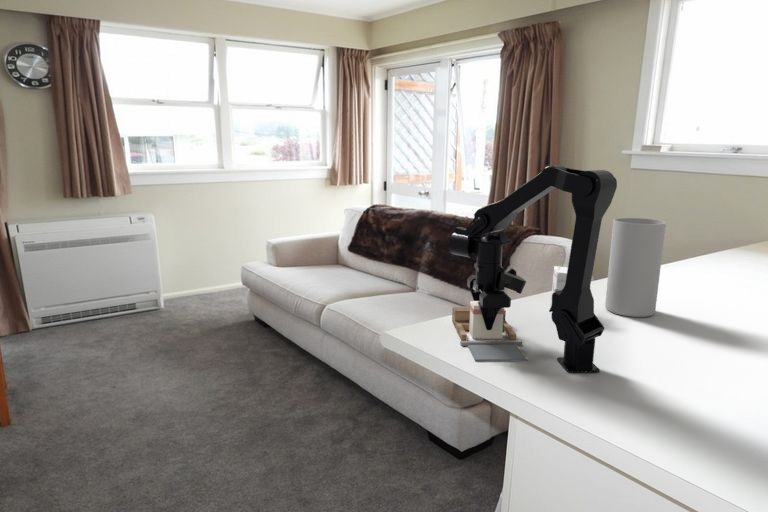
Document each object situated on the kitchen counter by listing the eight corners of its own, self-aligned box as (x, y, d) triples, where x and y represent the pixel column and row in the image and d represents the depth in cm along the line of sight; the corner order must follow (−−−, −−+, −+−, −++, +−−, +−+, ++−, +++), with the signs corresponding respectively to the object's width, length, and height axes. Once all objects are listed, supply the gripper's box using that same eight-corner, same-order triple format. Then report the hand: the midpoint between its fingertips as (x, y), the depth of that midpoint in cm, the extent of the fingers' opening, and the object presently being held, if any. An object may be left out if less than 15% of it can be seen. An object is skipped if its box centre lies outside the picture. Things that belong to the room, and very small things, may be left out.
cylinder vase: (653, 307, 143) (664, 219, 138) (656, 320, 132) (667, 225, 127) (605, 302, 148) (613, 216, 143) (604, 314, 137) (613, 222, 132)
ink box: (573, 316, 135) (576, 273, 133) (553, 315, 136) (556, 272, 134) (568, 307, 143) (571, 266, 141) (550, 306, 144) (553, 265, 142)
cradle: (522, 345, 115) (523, 328, 115) (461, 345, 115) (461, 329, 114) (503, 321, 132) (504, 306, 131) (449, 321, 131) (450, 306, 130)
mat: (527, 360, 107) (527, 358, 107) (475, 361, 107) (475, 359, 107) (516, 346, 115) (516, 344, 115) (468, 346, 115) (468, 344, 114)
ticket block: (502, 338, 120) (504, 306, 118) (472, 338, 119) (473, 306, 118) (498, 332, 124) (499, 300, 122) (468, 332, 123) (470, 300, 122)
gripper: (536, 270, 109) (531, 339, 112) (512, 253, 127) (508, 312, 130) (484, 270, 109) (481, 339, 112) (468, 253, 127) (465, 313, 130)
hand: (485, 325), depth 121 cm, fingers open, 6 cm apart
